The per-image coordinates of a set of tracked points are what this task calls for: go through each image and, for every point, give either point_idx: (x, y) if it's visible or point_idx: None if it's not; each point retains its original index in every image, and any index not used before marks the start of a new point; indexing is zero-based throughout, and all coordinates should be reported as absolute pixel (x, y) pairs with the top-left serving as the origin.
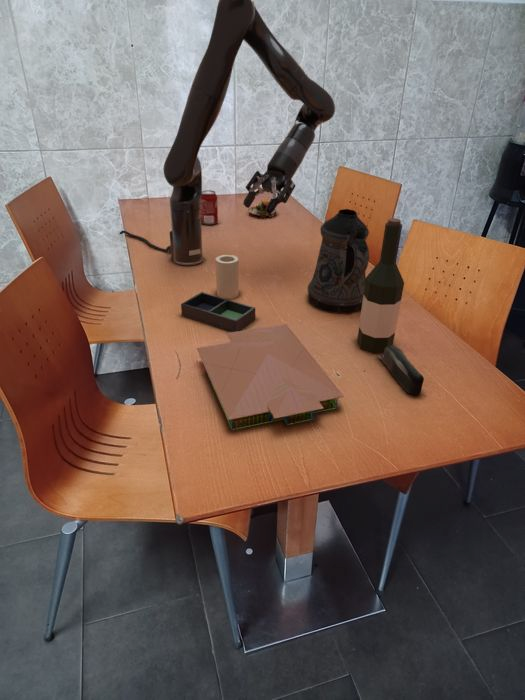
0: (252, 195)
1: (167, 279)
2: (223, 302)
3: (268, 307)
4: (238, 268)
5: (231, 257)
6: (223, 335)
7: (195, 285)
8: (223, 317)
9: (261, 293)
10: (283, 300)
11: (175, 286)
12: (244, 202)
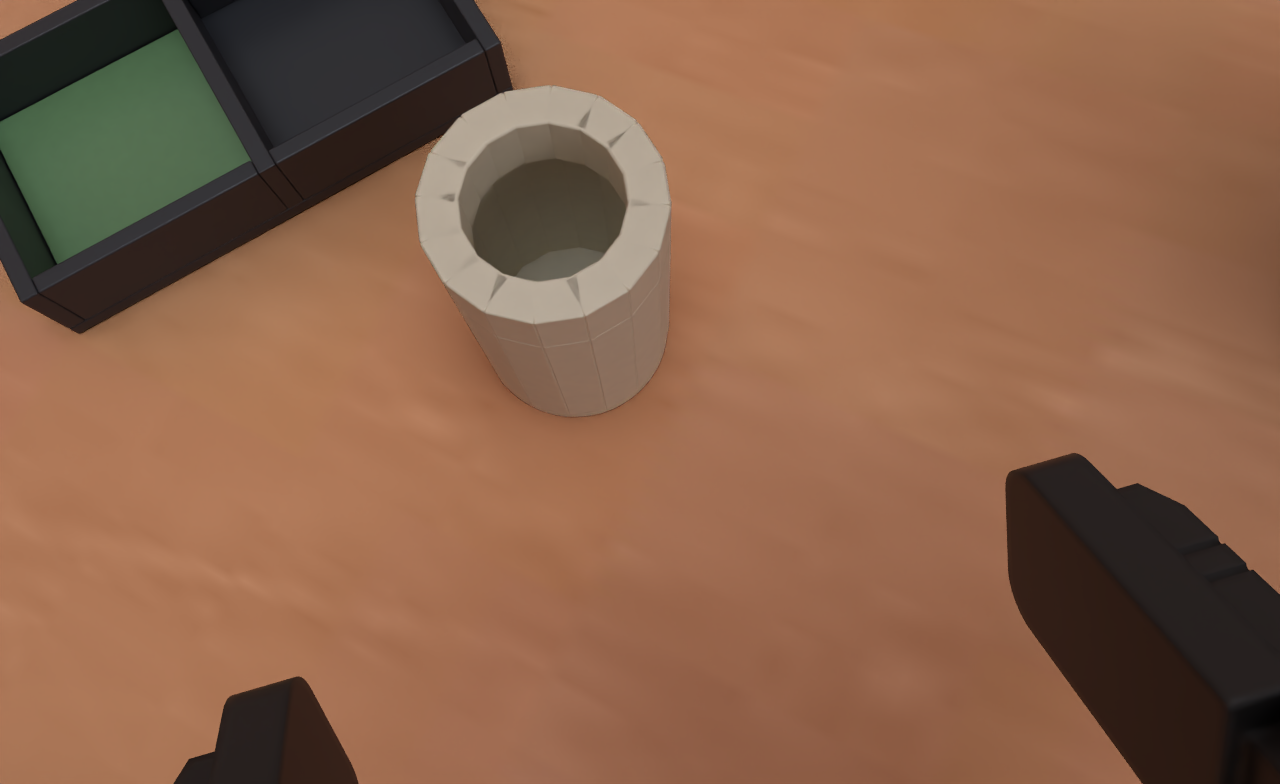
0: (1198, 751)
1: (1056, 8)
2: (234, 118)
3: (195, 522)
4: (496, 341)
5: (582, 272)
6: None
7: (851, 162)
8: (22, 30)
9: (458, 598)
10: None
11: (895, 21)
12: (1047, 465)
